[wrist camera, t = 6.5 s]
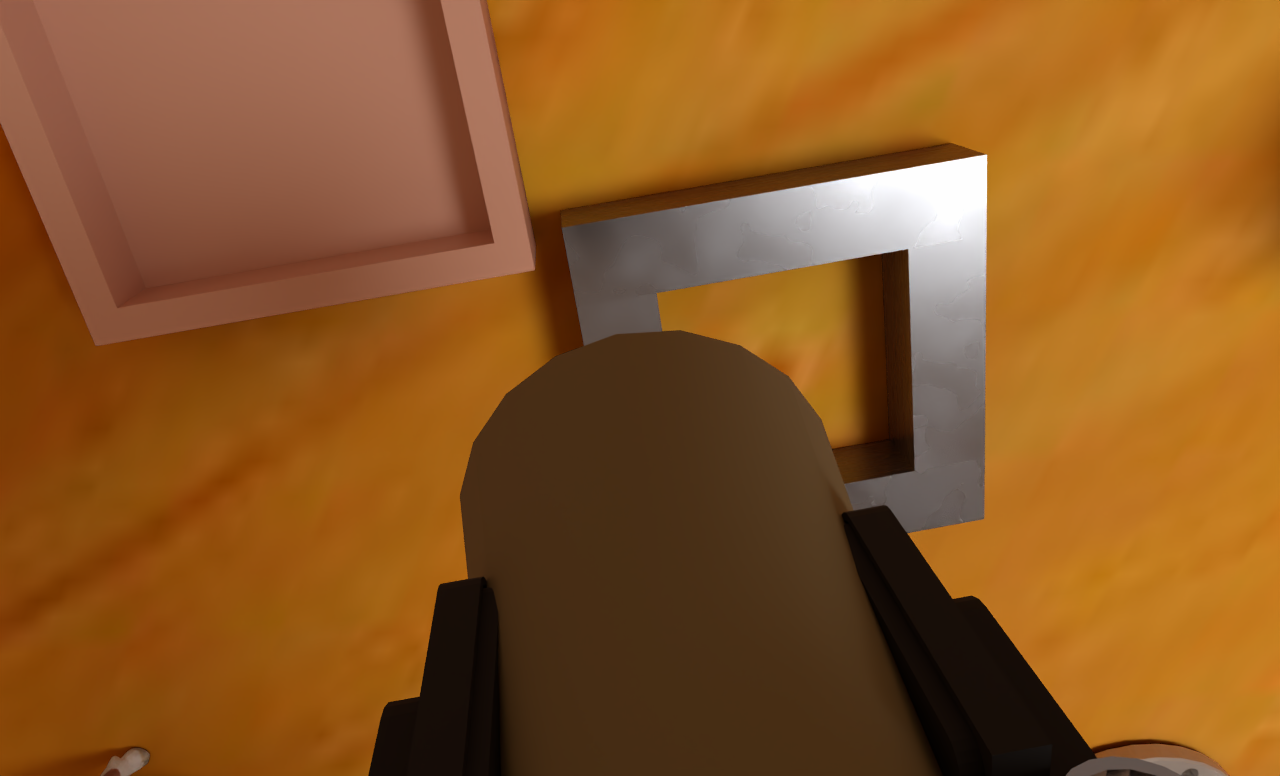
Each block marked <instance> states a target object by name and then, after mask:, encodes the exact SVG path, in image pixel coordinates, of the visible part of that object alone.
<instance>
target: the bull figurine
mask: <svg viewBox="0 0 1280 776" xmlns="http://www.w3.org/2000/svg"><path fill="white" fill-rule="evenodd" d="M149 758H150V754H149V753H148V752H147V751H146V750H144V749H141V748H132V749H130V750H129V751H127V752H126V753H125V754H124V755H123V757H122V758H119V757H118V756H113V757H112V758H111V760H110V761H109V763H108V765H107V767H106V769H105V770H104V771H103V773H102V774H101V775H100V776H129V775H131V774H132V773H134V772H135V771H137V770H139V769H141V768H142V767H143V766H145V765H146V764H147V763H148V762H149Z"/></svg>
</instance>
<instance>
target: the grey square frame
mask: <svg viewBox="0 0 1280 776" xmlns="http://www.w3.org/2000/svg"><path fill="white" fill-rule="evenodd" d="M986 207H987V155H986V154H983V153H980V152H977V151H974V150H971V149H968V148H965V147H962V146H959V145H956V144H953V143H951V144H946V145H940V146H934V147H928V148H922V149H916V150H911V151H905V152H899V153H893V154H887V155H881V156H876V157H870V158H864V159H858V160H852V161H846V162H840V163H835V164H829V165H823V166H817V167H811V168H805V169H800V170H794V171H788V172H782V173H776V174H770V175H765V176H759V177H753V178H747V179H741V180H735V181H730V182H724V183H718V184H712V185H706V186H700V187H694V188H689V189H683V190H677V191H671V192H665V193H659V194H654V195H648V196H642V197H636V198H630V199H624V200H619V201H613V202H607V203H601V204H595V205H589V206H584V207H578V208H572V209H566V210H561V224H562V232H563V237H564V242H565V248H566V253H567V258H568V264H569V269H570V274H571V279H572V285H573V290H574V295H575V301H576V306H577V311H578V317H579V322H580V327H581V333H582V338H583V343H584V346H585V345H588V344H590V343H593V342H596V341H599V340H601V339H604V338H607V337H609V336H612V335H615V334H626V333H643V332H661V331H662V328H661V321H660V314H659V308H658V301H657V294H656V293H659V292H665V291H670V290H676V289H682V288H687V287H693V286H699V285H705V284H710V283H716V282H722V281H728V280H733V279H739V278H745V277H750V276H756V275H762V274H768V273H773V272H779V271H785V270H791V269H796V268H802V267H808V266H814V265H819V264H825V263H831V262H836V261H842V260H848V259H854V258H859V257H865V256H871V255H877V254H882V272H883V296H884V321H885V345H886V369H887V393H888V417H889V439H888V440H883V441H877V442H872V443H866V444H861V445H855V446H849V447H844V448H838V449H833V450H832V451H833V454H834V457H835V460H836V463H837V465H838V468H839V471H840V474H841V477H842V479H843V482H844V485H845V488H846V491H847V493H848V496H849V499H850V502H851V505H852V507H853V510H859V509H865V508H870V507H876V506H882V505H886V506H888V507H889V508H890V509H891V511H892V512H893V514H894V515H895V517H896V518H897V519H898V521H899V522H900V524H901V525H902V527H903V528H904V530H905V531H906V532H907V533H910V532H916V531H921V530H926V529H932V528H937V527H943V526H948V525H954V524H959V523H964V522H970V521H975V520H981V519H984V472H985V340H986Z"/></svg>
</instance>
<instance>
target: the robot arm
mask: <svg viewBox="0 0 1280 776" xmlns="http://www.w3.org/2000/svg"><path fill="white" fill-rule="evenodd" d="M842 517H843V520H844V522H846V524H844V529H845V533H846V536H847V539H848V543H849V546H850V549H851V553H852V556H853V559H854V562H855V566H856V569H857V572H858V575H859V577H860V580H861V582H862V584H863V587H864V589H865V591H866V594H867V596H868V599H869V601H870V603H871V606H872V608H873V610H874V613H875V615H876V618H877V620H878V622H879V625H880V627H881V629H882V632H883V634H884V637H885V639H886V641H887V644H888V646H889V648H890V651H891V653H892V656H893V658H894V660H895V663H896V665H897V667H898V670H899V672H900V675H901V677H902V679H903V682H904V684H905V686H906V689H907V691H908V694H909V696H910V698H911V701H912V703H913V705H914V708H915V710H916V713H917V715H918V717H919V720H920V722H921V724H922V727H923V729H924V732H925V734H926V736H927V739H928V741H929V743H930V746H931V748H932V751H933V753H934V755H935V758H936V760H937V762H938V765H939V767H940V769H941V772H942V774H943V776H1229V775H1228V774H1227V773H1226V772H1225V770H1224V769H1223V768H1222V767H1221V766H1220V765H1219V764H1218V763H1217V762H1215V761H1214V760H1212V759H1210V758H1209V757H1207V756H1205V755H1204V754H1202V753H1200V752H1197V751H1194V750H1190V749H1187V748H1184V747H1181V746H1173V745H1165V744H1140V745H1129V746H1123V747H1118V748H1113V749H1108V750H1104V751H1101V752H1098V753H1095V754H1094V753H1093V752H1092V750H1091V749H1090V747H1089V746H1088V745H1087V743H1086V742H1085V741H1084V739H1083V738H1082V737H1081V735H1080V734H1079V732H1078V731H1077V730H1076V728H1075V727H1074V726H1073V724H1072V723H1071V722H1070V720H1069V719H1068V718H1067V716H1066V715H1065V713H1064V712H1063V711H1062V709H1061V708H1060V707H1059V705H1058V704H1057V703H1056V701H1055V700H1054V698H1053V697H1052V696H1051V694H1050V693H1049V692H1048V690H1047V689H1046V688H1045V686H1044V685H1043V684H1042V682H1041V681H1040V679H1039V678H1038V677H1037V675H1036V674H1035V673H1034V671H1033V670H1032V669H1031V667H1030V666H1029V665H1028V663H1027V662H1026V660H1025V659H1024V658H1023V656H1022V655H1021V654H1020V652H1019V651H1018V650H1017V648H1016V647H1015V645H1014V644H1013V643H1012V641H1011V640H1010V639H1009V637H1008V636H1007V635H1006V633H1005V632H1004V631H1003V629H1002V628H1001V626H1000V625H999V624H998V622H997V621H996V620H995V618H994V617H993V616H992V614H991V613H990V611H989V610H988V609H987V607H986V606H985V605H984V604H983V603H982V602H981V601H980V600H979V599H978V598H976V597H974V596H967V597H962V598H956V599H952V598H951V596H950V595H949V593H948V592H947V591H946V589H945V588H944V586H943V585H942V583H941V582H940V580H939V579H938V577H937V576H936V575H935V573H934V572H933V570H932V569H931V567H930V566H929V564H928V563H927V562H926V560H925V559H924V557H923V556H922V554H921V553H920V551H919V550H918V548H917V547H916V546H915V544H914V543H913V541H912V540H911V538H910V537H909V535H908V534H907V532H906V531H905V530H904V528H903V527H902V525H901V524H900V522H899V521H898V519H897V518H896V517H895V515H894V514H893V512H892V511H891V509H890V508H889V507H888V506H886V505H882V506H876V507H870V508H865V509H859V510H853V511H848V512H843V513H842ZM368 776H501V757H500V715H499V673H498V609H497V604H496V600H495V595H494V591H493V589H492V588H490V587H487V588H486V579H485V578H484V577H477V578H471V579H466V580H460V581H455V582H449V583H443V584H440V585H439V587H438V591H437V597H436V603H435V609H434V615H433V621H432V627H431V633H430V639H429V645H428V651H427V657H426V663H425V668H424V674H423V680H422V686H421V692H420V697H415V698H410V699H404V700H399V701H393V702H388V704H387V705H386V706H385V707H384V710H383V713H382V716H381V720H380V725H379V729H378V734H377V738H376V743H375V748H374V752H373V757H372V762H371V766H370V771H369V775H368Z"/></svg>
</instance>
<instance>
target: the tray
mask: <svg viewBox="0 0 1280 776" xmlns="http://www.w3.org/2000/svg"><path fill="white" fill-rule="evenodd" d="M0 123H1V125H2V128H3V130H4V132H5V135H6V137H7V139H8V142H9V144H10V146H11V149H12V151H13V153H14V156H15V158H16V161H17V163H18V165H19V168H20V170H21V172H22V175H23V177H24V179H25V182H26V184H27V186H28V189H29V191H30V193H31V196H32V198H33V200H34V203H35V205H36V207H37V210H38V212H39V214H40V217H41V219H42V221H43V224H44V226H45V228H46V231H47V233H48V235H49V238H50V240H51V242H52V245H53V247H54V249H55V252H56V254H57V256H58V259H59V261H60V264H61V266H62V268H63V271H64V273H65V275H66V278H67V280H68V282H69V285H70V287H71V289H72V292H73V294H74V296H75V299H76V301H77V303H78V306H79V308H80V310H81V313H82V315H83V317H84V320H85V322H86V324H87V327H88V329H89V331H90V334H91V336H92V338H93V341H94V343H95V345H96V346H100V345H106V344H111V343H117V342H123V341H129V340H134V339H140V338H146V337H152V336H158V335H163V334H169V333H175V332H181V331H186V330H192V329H198V328H204V327H210V326H215V325H221V324H227V323H233V322H238V321H244V320H250V319H256V318H262V317H267V316H273V315H279V314H285V313H291V312H296V311H302V310H308V309H314V308H319V307H325V306H331V305H337V304H343V303H348V302H354V301H360V300H366V299H371V298H377V297H383V296H389V295H395V294H400V293H406V292H412V291H418V290H423V289H429V288H435V287H441V286H447V285H452V284H458V283H464V282H470V281H475V280H481V279H487V278H493V277H499V276H504V275H510V274H516V273H522V272H527V271H533V270H535V258H536V243H535V238H534V233H533V228H532V223H531V218H530V213H529V208H528V203H527V198H526V193H525V188H524V183H523V178H522V173H521V168H520V164H519V159H518V154H517V149H516V144H515V139H514V134H513V129H512V124H511V119H510V114H509V109H508V104H507V99H506V94H505V89H504V84H503V79H502V74H501V70H500V65H499V60H498V55H497V50H496V45H495V40H494V35H493V30H492V25H491V20H490V15H489V10H488V5H487V0H0Z"/></svg>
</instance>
